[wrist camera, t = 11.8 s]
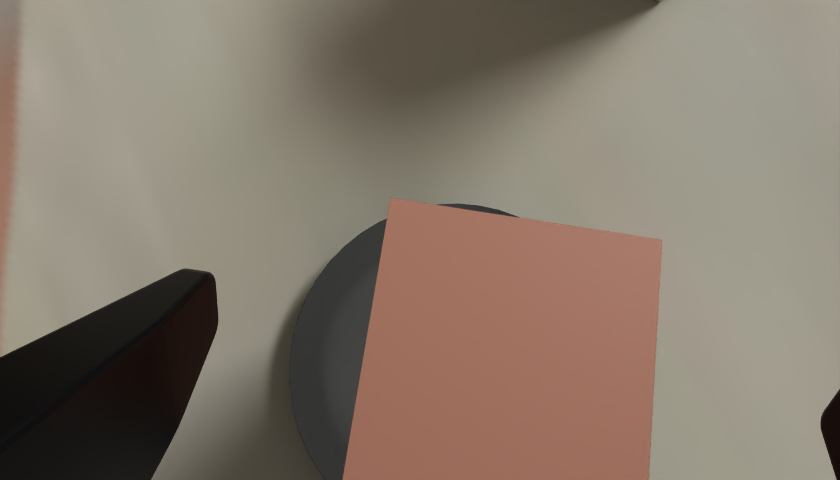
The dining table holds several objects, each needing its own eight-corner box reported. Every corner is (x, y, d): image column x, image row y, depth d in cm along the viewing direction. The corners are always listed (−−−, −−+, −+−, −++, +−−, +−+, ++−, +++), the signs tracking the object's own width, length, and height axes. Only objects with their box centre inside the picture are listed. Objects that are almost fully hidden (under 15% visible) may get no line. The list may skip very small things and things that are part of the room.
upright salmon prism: (524, 454, 17) (645, 536, 8) (371, 431, 17) (340, 488, 8) (540, 301, 18) (662, 240, 9) (395, 279, 18) (390, 197, 9)
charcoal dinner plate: (599, 561, 17) (610, 573, 16) (265, 509, 17) (257, 517, 16) (622, 236, 19) (633, 229, 18) (327, 191, 19) (323, 182, 18)
